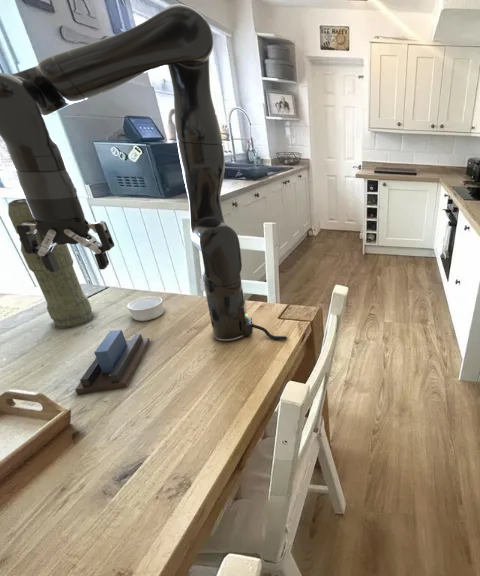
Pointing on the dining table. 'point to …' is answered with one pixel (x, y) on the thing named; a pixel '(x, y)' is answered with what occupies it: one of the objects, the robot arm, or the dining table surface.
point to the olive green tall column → (54, 276)
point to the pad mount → (120, 373)
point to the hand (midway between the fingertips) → (80, 269)
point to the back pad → (110, 350)
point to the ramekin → (146, 308)
